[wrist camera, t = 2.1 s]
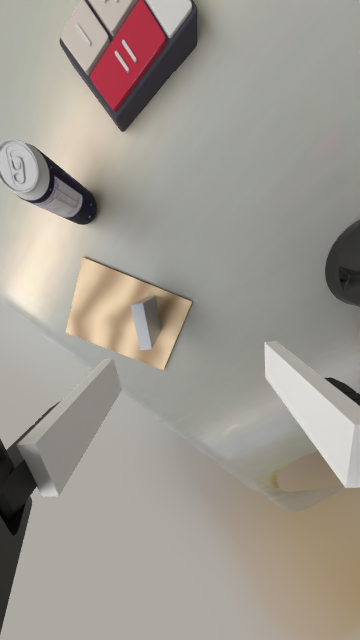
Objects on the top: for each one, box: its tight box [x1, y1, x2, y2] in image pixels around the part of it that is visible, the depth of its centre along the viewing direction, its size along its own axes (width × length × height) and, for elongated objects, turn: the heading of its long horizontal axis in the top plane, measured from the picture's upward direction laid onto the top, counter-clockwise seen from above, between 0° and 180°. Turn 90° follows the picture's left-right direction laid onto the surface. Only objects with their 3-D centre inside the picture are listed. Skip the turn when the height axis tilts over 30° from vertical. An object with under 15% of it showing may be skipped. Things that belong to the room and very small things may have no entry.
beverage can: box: [0, 139, 97, 225], centre depth 24 cm, size 6×6×12 cm
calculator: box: [60, 0, 197, 132], centre depth 23 cm, size 11×4×15 cm
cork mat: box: [66, 257, 192, 370], centre depth 34 cm, size 22×16×1 cm
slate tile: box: [131, 296, 162, 350], centre depth 29 cm, size 2×7×9 cm, turn 8°
